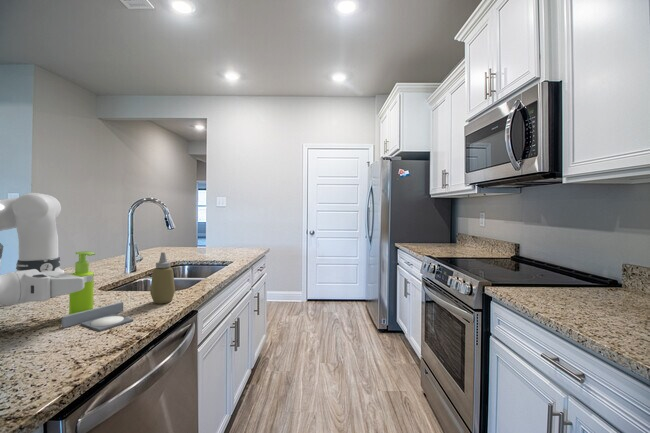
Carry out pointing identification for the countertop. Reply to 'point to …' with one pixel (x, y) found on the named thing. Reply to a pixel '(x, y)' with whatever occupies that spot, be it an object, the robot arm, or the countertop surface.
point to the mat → (106, 322)
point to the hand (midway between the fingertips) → (85, 276)
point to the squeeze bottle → (162, 281)
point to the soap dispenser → (85, 296)
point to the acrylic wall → (91, 314)
